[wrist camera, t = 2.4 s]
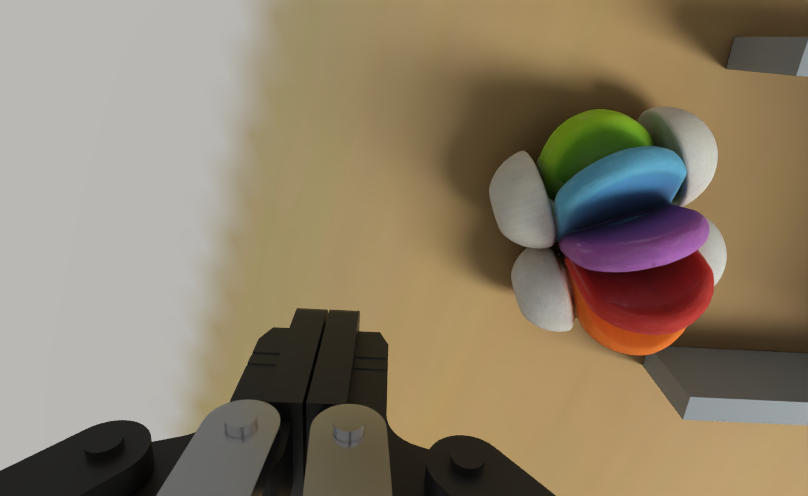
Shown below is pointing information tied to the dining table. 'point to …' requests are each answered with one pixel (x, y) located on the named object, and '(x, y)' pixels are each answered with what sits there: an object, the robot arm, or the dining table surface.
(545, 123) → the dining table surface
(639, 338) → the white-wheeled rainbow disc toy
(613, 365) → the dining table surface
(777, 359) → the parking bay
